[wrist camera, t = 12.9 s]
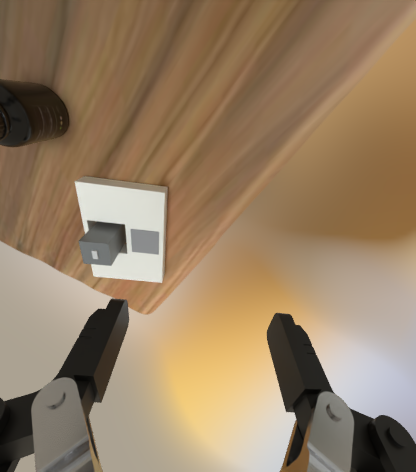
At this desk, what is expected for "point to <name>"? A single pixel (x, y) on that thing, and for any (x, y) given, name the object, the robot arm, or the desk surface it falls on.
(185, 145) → the desk surface
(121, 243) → the charger
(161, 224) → the outlet plate
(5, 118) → the supplement bottle
